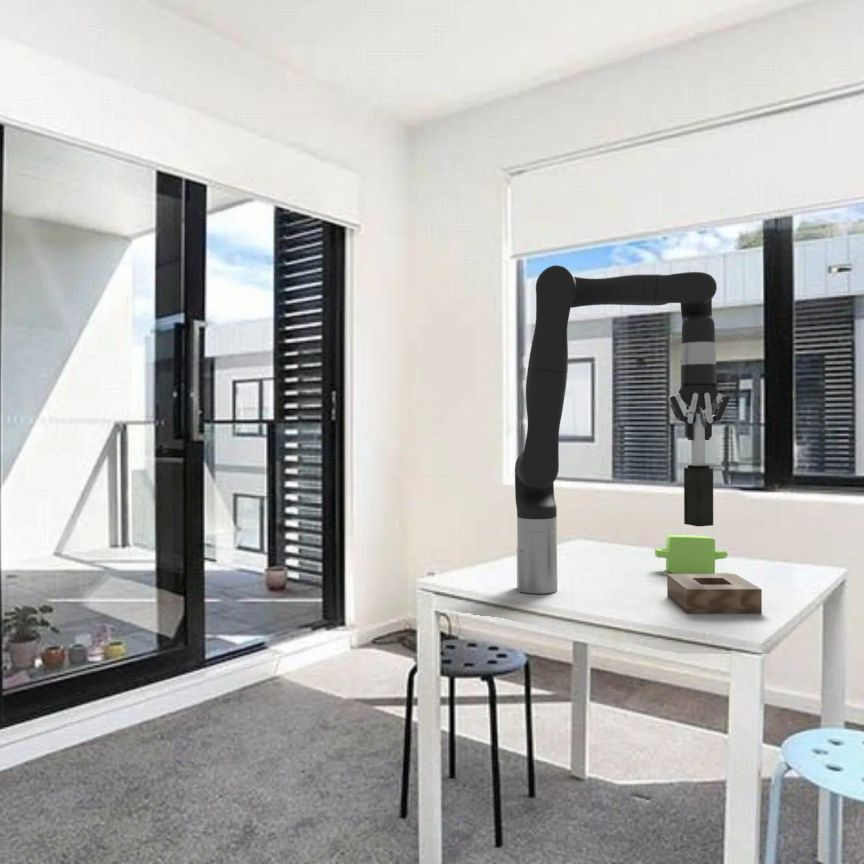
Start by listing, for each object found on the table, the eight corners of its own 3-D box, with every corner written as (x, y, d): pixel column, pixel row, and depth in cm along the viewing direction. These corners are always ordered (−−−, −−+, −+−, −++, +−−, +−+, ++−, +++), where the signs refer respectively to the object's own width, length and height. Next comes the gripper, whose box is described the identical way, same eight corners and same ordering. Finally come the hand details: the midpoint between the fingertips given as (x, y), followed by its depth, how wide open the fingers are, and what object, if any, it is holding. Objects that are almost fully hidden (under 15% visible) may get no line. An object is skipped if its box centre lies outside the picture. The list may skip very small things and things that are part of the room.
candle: (681, 523, 169) (681, 414, 169) (699, 522, 171) (699, 413, 170) (697, 526, 164) (697, 413, 164) (715, 525, 166) (715, 413, 166)
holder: (686, 613, 152) (686, 589, 152) (667, 596, 167) (667, 573, 167) (761, 613, 151) (761, 589, 151) (735, 596, 166) (735, 573, 166)
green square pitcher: (722, 570, 197) (723, 534, 197) (733, 576, 187) (733, 538, 187) (653, 568, 199) (653, 532, 199) (660, 574, 189) (660, 537, 189)
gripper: (671, 362, 163) (671, 441, 164) (736, 361, 163) (736, 440, 163) (662, 365, 171) (662, 440, 171) (723, 364, 170) (724, 439, 171)
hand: (698, 439), depth 167 cm, fingers closed on candle, 3 cm apart
